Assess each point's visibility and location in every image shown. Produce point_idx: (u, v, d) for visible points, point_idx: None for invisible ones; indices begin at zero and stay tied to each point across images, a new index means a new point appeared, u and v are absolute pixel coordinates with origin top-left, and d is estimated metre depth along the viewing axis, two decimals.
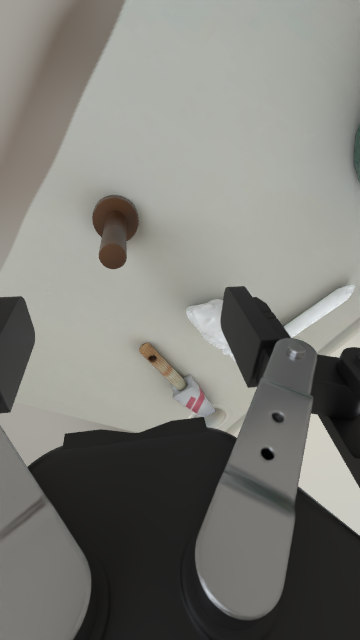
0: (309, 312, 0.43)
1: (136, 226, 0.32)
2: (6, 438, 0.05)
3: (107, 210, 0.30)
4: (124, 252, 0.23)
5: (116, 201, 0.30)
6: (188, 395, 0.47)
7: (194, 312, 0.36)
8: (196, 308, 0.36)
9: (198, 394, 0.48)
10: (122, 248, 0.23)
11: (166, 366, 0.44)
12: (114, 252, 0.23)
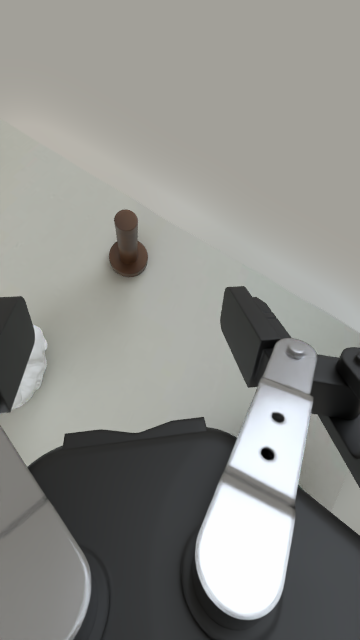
0: None
1: (125, 272, 0.36)
2: (6, 438, 0.05)
3: (137, 249, 0.37)
4: (130, 229, 0.27)
5: (145, 257, 0.37)
6: None
7: (37, 327, 0.31)
8: (41, 331, 0.31)
9: None
10: (133, 227, 0.28)
11: None
12: (130, 221, 0.28)
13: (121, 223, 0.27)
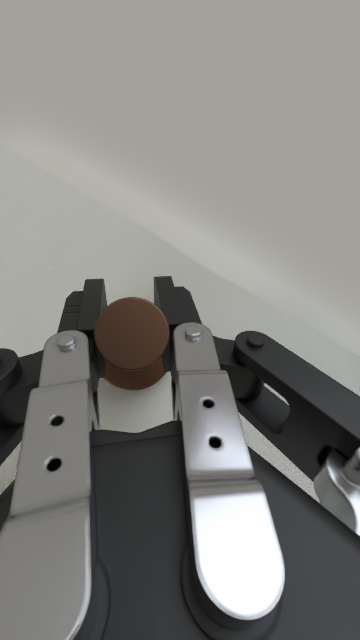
0: None
1: (128, 386, 0.17)
2: (87, 418, 0.06)
3: None
4: (147, 364, 0.08)
5: None
6: None
7: None
8: None
9: None
10: (157, 358, 0.09)
11: None
12: (145, 337, 0.09)
13: (117, 345, 0.08)
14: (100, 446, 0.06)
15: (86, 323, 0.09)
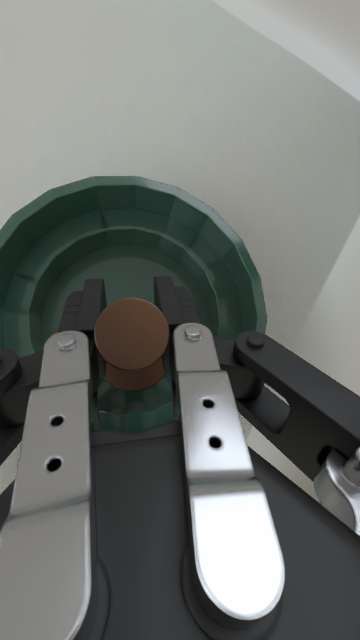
0: None
1: (128, 387, 0.17)
2: (87, 418, 0.06)
3: None
4: (146, 365, 0.08)
5: None
6: None
7: None
8: None
9: None
10: (157, 358, 0.09)
11: None
12: (145, 338, 0.09)
13: (117, 346, 0.08)
14: (100, 446, 0.06)
15: (86, 323, 0.09)
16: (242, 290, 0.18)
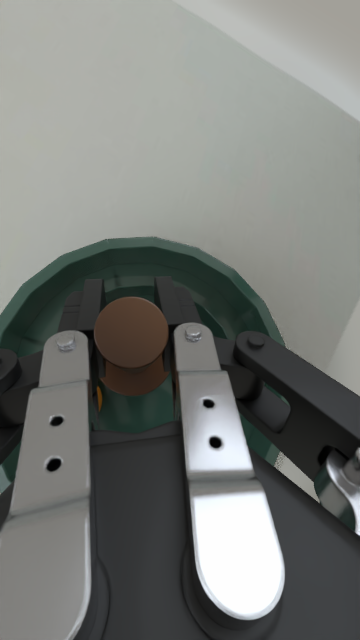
0: None
1: (132, 392, 0.17)
2: (86, 418, 0.06)
3: None
4: (149, 361, 0.09)
5: None
6: None
7: None
8: None
9: None
10: (159, 353, 0.09)
11: None
12: (145, 334, 0.09)
13: (118, 345, 0.08)
14: (100, 446, 0.06)
15: (86, 323, 0.09)
16: None
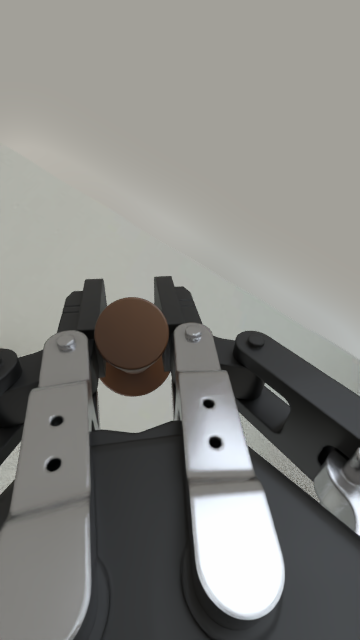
0: None
1: (132, 393, 0.17)
2: (86, 418, 0.06)
3: None
4: (150, 361, 0.09)
5: None
6: None
7: None
8: None
9: None
10: (159, 354, 0.09)
11: None
12: (145, 335, 0.09)
13: (118, 346, 0.08)
14: (100, 446, 0.06)
15: (86, 323, 0.09)
16: None
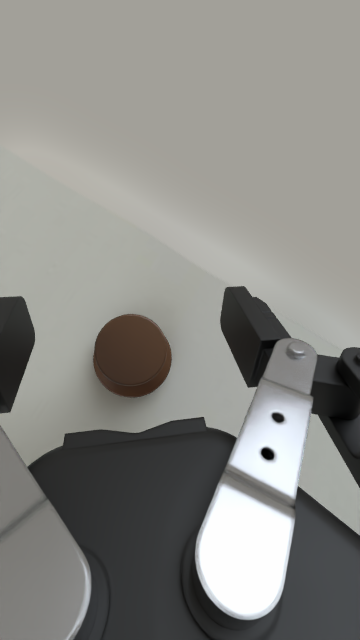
0: None
1: (131, 394, 0.18)
2: (6, 438, 0.05)
3: None
4: (148, 377, 0.09)
5: (166, 354, 0.18)
6: None
7: None
8: None
9: None
10: (158, 370, 0.09)
11: None
12: (144, 352, 0.09)
13: (118, 363, 0.09)
14: (100, 446, 0.06)
15: None
16: None
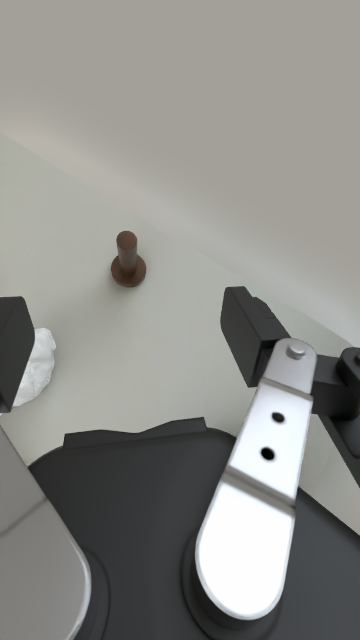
0: None
1: (127, 283, 0.40)
2: (6, 438, 0.05)
3: None
4: (131, 248, 0.31)
5: (143, 267, 0.41)
6: None
7: (47, 330, 0.34)
8: (50, 333, 0.35)
9: None
10: (134, 246, 0.31)
11: None
12: (130, 241, 0.31)
13: (123, 243, 0.31)
14: (100, 446, 0.06)
15: None
16: None
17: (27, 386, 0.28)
